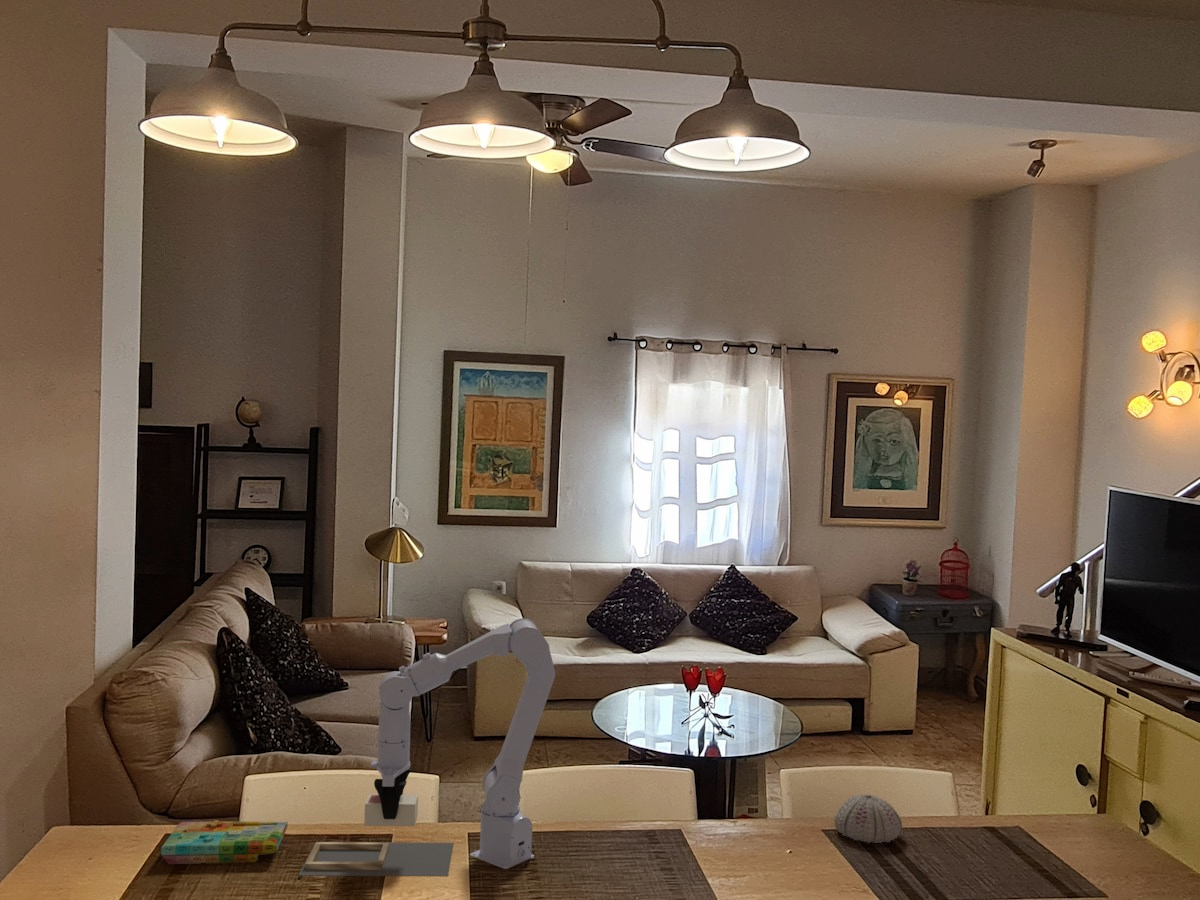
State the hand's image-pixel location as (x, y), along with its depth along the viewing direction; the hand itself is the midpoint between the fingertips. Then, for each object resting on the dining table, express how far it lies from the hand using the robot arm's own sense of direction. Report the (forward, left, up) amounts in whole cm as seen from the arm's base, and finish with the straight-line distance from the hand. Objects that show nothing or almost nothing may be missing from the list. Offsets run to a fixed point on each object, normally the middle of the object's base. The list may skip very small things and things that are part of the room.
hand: (391, 812), depth 193 cm
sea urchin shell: (-60, -73, -9) cm, 95 cm away
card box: (0, 0, -2) cm, 2 cm away
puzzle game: (+25, +18, -10) cm, 32 cm away
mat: (+1, +1, -9) cm, 9 cm away
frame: (+6, +5, -9) cm, 12 cm away
